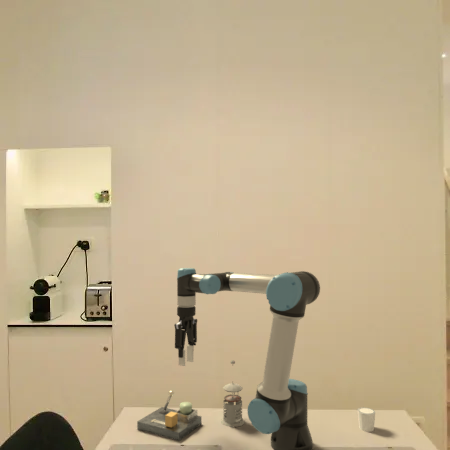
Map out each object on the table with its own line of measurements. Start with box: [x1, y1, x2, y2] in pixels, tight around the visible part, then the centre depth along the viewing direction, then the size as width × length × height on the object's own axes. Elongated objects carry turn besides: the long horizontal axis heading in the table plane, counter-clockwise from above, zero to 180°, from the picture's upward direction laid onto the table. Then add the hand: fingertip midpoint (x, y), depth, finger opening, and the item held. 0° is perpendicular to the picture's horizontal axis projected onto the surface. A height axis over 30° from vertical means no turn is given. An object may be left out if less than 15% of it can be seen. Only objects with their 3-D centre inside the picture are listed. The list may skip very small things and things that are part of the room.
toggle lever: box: [163, 390, 175, 411], centre depth 167 cm, size 2×2×10 cm
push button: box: [179, 401, 193, 414], centre depth 163 cm, size 5×5×3 cm
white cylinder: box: [356, 406, 376, 433], centre depth 160 cm, size 7×7×7 cm
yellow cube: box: [165, 412, 178, 428], centre depth 156 cm, size 3×4×4 cm
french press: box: [220, 360, 245, 428], centre depth 168 cm, size 10×12×25 cm
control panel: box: [136, 406, 202, 442], centre depth 162 cm, size 20×16×6 cm
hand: (186, 363), depth 164 cm, fingers open, 5 cm apart
